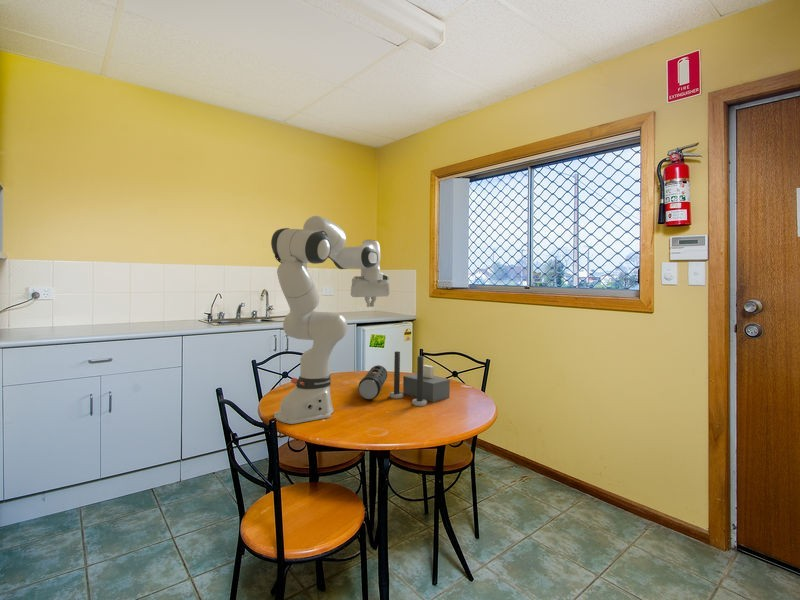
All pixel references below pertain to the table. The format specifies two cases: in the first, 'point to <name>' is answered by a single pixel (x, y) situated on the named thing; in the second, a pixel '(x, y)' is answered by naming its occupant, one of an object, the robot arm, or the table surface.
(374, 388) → the muzzle brake
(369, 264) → the robot arm
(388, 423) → the table surface
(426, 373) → the breaker switch
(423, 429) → the table surface
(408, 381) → the box
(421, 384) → the right cord post
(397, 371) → the post
